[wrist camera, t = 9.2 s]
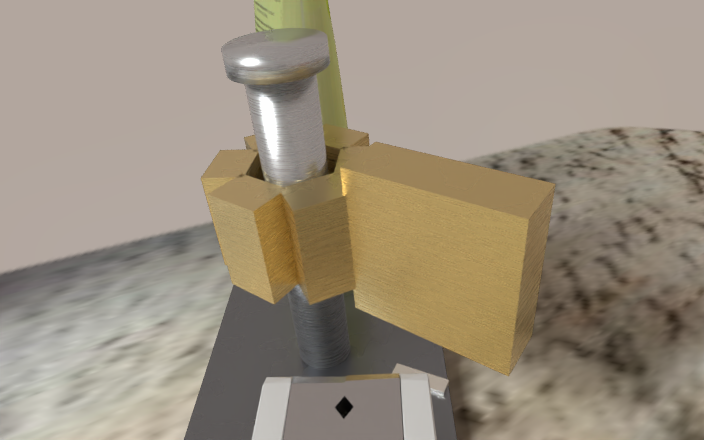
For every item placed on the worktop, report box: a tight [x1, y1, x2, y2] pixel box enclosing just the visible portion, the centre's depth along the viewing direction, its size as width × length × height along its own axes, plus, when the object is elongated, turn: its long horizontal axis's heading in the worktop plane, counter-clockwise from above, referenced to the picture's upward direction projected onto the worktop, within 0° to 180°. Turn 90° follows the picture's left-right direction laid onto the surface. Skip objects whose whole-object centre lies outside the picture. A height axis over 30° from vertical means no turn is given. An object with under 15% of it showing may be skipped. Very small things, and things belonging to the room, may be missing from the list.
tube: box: [254, 0, 348, 129], centre depth 27 cm, size 6×5×20 cm
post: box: [184, 28, 457, 440], centre depth 21 cm, size 11×10×15 cm
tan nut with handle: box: [201, 124, 555, 376], centre depth 19 cm, size 6×12×6 cm, turn 54°
